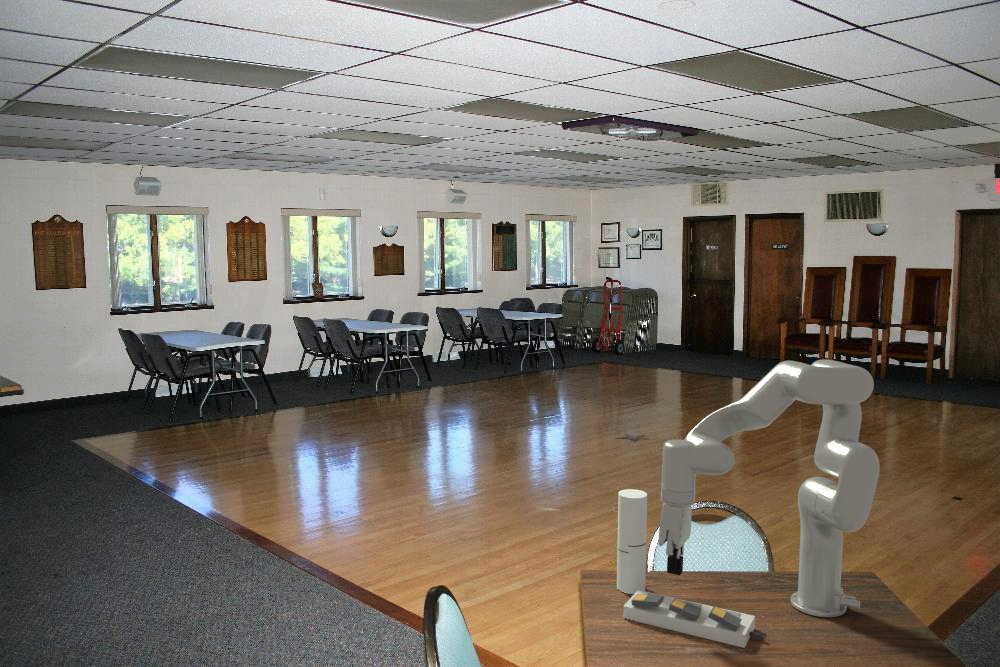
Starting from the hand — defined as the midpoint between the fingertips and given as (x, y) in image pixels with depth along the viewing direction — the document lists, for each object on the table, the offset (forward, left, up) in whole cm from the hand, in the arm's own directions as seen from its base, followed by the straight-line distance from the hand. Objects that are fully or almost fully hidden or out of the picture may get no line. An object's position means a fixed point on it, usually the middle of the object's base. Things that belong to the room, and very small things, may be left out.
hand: (674, 572), depth 184 cm
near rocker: (-12, 0, -8) cm, 14 cm away
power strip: (-4, -3, -13) cm, 14 cm away
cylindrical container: (+15, -14, -13) cm, 24 cm away
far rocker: (+6, 0, -8) cm, 10 cm away
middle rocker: (-3, 0, -8) cm, 9 cm away
